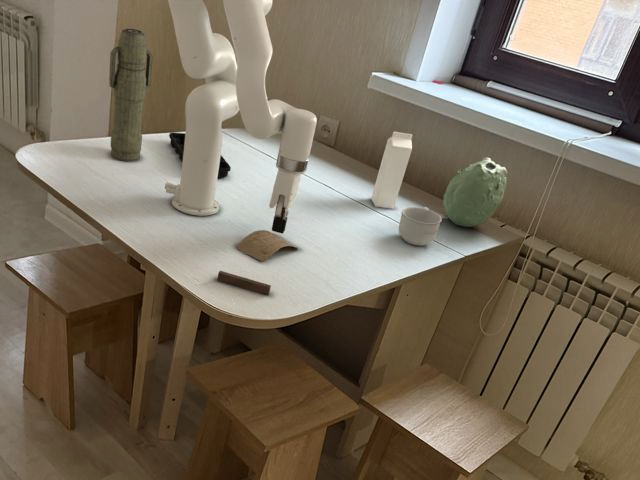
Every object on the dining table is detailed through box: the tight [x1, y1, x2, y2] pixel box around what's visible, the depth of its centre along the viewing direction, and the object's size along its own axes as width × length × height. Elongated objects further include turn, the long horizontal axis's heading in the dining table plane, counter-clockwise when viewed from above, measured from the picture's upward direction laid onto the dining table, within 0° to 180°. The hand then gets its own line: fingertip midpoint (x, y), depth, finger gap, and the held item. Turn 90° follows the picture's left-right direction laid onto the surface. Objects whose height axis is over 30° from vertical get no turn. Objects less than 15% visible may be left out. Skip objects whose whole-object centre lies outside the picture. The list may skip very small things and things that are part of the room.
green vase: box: [442, 156, 508, 228], centre depth 200 cm, size 16×19×20 cm
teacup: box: [398, 206, 443, 247], centre depth 188 cm, size 14×11×8 cm
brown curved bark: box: [236, 229, 300, 262], centre depth 168 cm, size 14×10×3 cm
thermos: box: [108, 28, 153, 163], centre depth 193 cm, size 9×12×35 cm
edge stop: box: [216, 270, 272, 296], centre depth 151 cm, size 12×1×2 cm, turn 75°
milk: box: [370, 131, 413, 210], centre depth 202 cm, size 6×6×22 cm
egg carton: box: [168, 132, 232, 179], centre depth 209 cm, size 18×30×4 cm, turn 32°
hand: (277, 231), depth 175 cm, fingers closed
